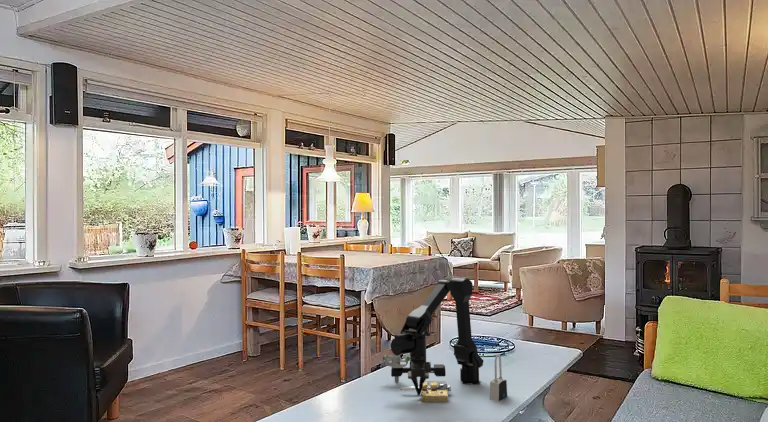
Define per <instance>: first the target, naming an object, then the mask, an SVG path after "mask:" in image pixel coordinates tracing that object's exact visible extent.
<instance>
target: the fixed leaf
mask: <svg viewBox="0 0 768 422" xmlns="http://www.w3.org/2000/svg"><path fill="white" fill-rule="evenodd" d="M424 382H427V386H428V387H422V389H428V390H431V389H437V390H447V391H448V392H451V391H452V386H451V385H448V384H447V380H425V381H424ZM431 382H437V387H431ZM418 388H419V386H418ZM400 390H401V391H416V389H415V386H400Z"/></svg>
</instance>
